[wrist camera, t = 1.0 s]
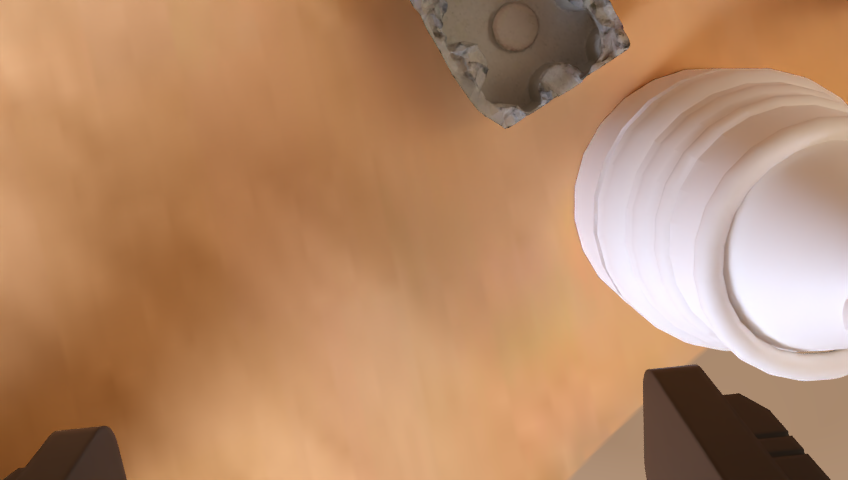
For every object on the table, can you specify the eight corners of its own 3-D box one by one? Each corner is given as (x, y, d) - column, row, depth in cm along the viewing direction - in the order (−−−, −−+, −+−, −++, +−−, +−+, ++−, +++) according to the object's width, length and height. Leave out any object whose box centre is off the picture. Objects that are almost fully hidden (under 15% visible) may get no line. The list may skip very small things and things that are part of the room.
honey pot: (627, 356, 42) (825, 565, 24) (534, 135, 39) (683, 189, 21) (849, 254, 41) (1211, 389, 24) (772, 24, 39) (1121, -15, 21)
